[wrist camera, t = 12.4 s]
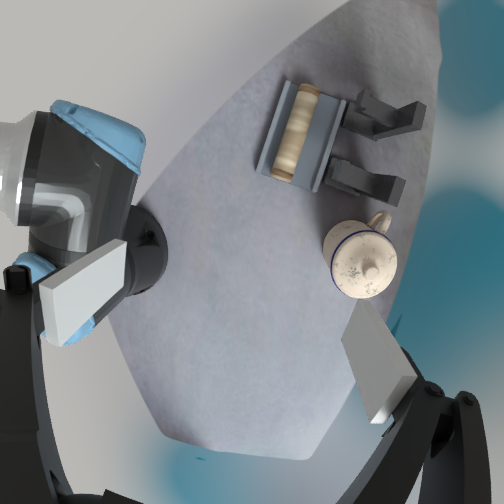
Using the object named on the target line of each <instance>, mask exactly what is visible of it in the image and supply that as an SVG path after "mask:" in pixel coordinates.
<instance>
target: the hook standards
mask: <svg viewBox="0 0 504 504" xmlns="http://www.w3.org/2000/svg"><path fill="white" fill-rule="evenodd" d="M371 92H372V91H371V90H369V89H366V88H365V89H364V90H363V91H361V92H360V93H359V94H358V96H357V99H356V103H355V104H354V103H352V102H349V103H348V106H347V110H346V113H345V116H344V119H343V123H342V126H341V127H343V128H346V129H348V130H351V131H353V132H356V133H358V134H360V135H363V136H365V137H367V138H369V139H372V140H374V141H377V140H378V139H381V138H385V137H390V136H394V135H398V134H403V133H407V132H412V131H417V130H421V128H422V124H423V120H424V116H425V111H426V107H427V106H426V105H424V104H422V103H421V102H419V101H416V102H414V103H411V104H409V105H407V106H404V107H402V108H400V109H396V108H394V107H392V106H390V105H388V104H386V103H384V102H381V101H379V100H377V99H375V98H373V97H371ZM405 182H406V180H404V179H402V178H400V177H398V176H391V175H382V174H373V173H370V172H368V171H366V170H363V169H361V168H359V167H356V166H354V165H351V164H350V162H349V161H346V160H344V159H343V160H338V159H336V158H333V157H331V160H330V163H329V166H328V169H327V172H326V175H325V177H324V180H323V183H324V184H327V185H330V186H332V187H335V188H338V189H340V190H343V191H345V192H348V193H350V194H353V195H355V196H358V197H359V195H360V194H362V195H365V196H368V197H371V198H373V199H376V200H379V201H382V202H384V203H387V204H390V205H393V206H395V207H397V206H398V203H399V200H400V197H401V194H402V191H403V188H404V185H405Z"/></svg>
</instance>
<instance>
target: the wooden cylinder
mask: <svg viewBox="0 0 504 504" xmlns="http://www.w3.org/2000/svg"><path fill="white" fill-rule="evenodd" d="M297 92H298V93H297V96H296V99H295V102H294V105H293V108H292V111H291V114H290V117H289V119H288V122H287V125H286V128H285V131H284V134H283V137H282V140H281V143H280V146H279V149H278V152H277V155H276V158H275V161H274V164H273V167H272V169H271V172H270V176H271V177H274V178H277V179H280V180H283V181H286V182H289V183H291V180H292V178H293V174H294V171H295V168H296V165H297V162H298V159H299V156H300V153H301V150H302V147H303V144H304V141H305V138H306V135H307V132H308V129H309V126H310V123H311V120H312V117H313V114H314V111H315V108H316V105H317V102H318V99H319V97H320V93H321V90H320V89H319V88H317V87H315V86H313V85H310V84H305V83H302V84H300V86H299V88H298V91H297Z"/></svg>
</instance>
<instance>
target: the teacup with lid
mask: <svg viewBox="0 0 504 504" xmlns="http://www.w3.org/2000/svg"><path fill="white" fill-rule="evenodd" d="M380 220H382V222H381V224H380V225H379V227H378V228H377V230H376V231H374V230H373V229H374V228H375V226H376V225H377V224H378V222H379V221H380ZM390 223H391V215H390V214H389V213H388V212H387V211H384V210H382V211H379V212H377V213H376V214H375V215H374V216H373V217H372V218H371V219H370V220H369V222H368V223H367V225H365V224H364V223H362V222H359V221H355V220H347V221H343V222H340V223H338V224H337V225H335V226H334V227H333V228H332V229H331V230H330V231H329V232H328V233H327V235H326V237H325V240H324V243H323V255H324V259H325V261H326V263H327V265H328V267H329V269H330V271H331V276H332V279H333V281H334V283H335V285H336V286H337V288H338V289H339V290H340V291H341V292H343V293H344V294H346V295H348V296H351V297H354V298H368V297H372V296H374V295H376V294H378V293H380V292H381V291H383V290H384V289H385V288H386V287H387V286H388V285H389V283H390V282H391V281H392V279H393V277H394V274H395V272H396V267H397V256H396V251H395V248H394V246H393V244H392V243H391V241H390V240H389V239H388V238H387V237H386V236H384V234H385V233H386V231H387V229H388V228H389V226H390Z"/></svg>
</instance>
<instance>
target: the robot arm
mask: <svg viewBox="0 0 504 504" xmlns="http://www.w3.org/2000/svg"><path fill="white" fill-rule="evenodd" d="M50 111H51V112H42V111H33V112H31V113H30V114H29V115H28V116H26V117H25V118H24V119H22V120H21V121H20V122H17V123H15V124H14V123H4V122H0V210H2V211H3V212H4V213H5V214H6V215H7V216H8V218H9V219H10V220H11V222H12V223H13V224H14V225H15V226H30V229H29V230H30V231H29V246H28V252H24V253H22V254H20V255H19V256H18V258H17V259H16V261H15V262H14V263H13V264H12V266H9V267H7V268H5V270H4V271H3V275H4V283H5V290H2V289H0V504H143V503H141V502H138V501H135V500H132V499H129V498H127V497H124V496H121V495H119V494H116V493H114V492H111V491H109V490H107V489H105V492H104V494H103V496H101V495H94V494H73V492H72V489H71V487H70V485H69V483H68V481H67V479H66V476H65V473H64V470H63V467H62V464H61V460H60V457H59V454H58V450H57V446H56V442H55V437H54V434H53V429H52V424H51V419H50V414H49V408H48V403H47V396H46V390H45V382H44V374H43V364H42V352H41V339H40V334H41V335H43V336H44V337H46V340H47V342H49V343H51V344H53V345H55V346H57V347H61V346H62V345H70V344H73V343H76V342H78V341H79V340H81V339H82V338H83V337H85V336H86V335H87V334H90V333H91V332H92V331H93V329H94V327H95V326H96V325H97V324H98V323H99V322H100V321H101V320H102V319H103V318H104V317H105V316H106V315H107V314H108V313H109V312H110V311H111V310H112V309H113V308H114V307H116V306H117V305H118V304H119V303H120V302H121V301H122V300H123V299H124V298H125V297H128V296H132V295H137V294H140V293H143V292H145V291H147V290H149V289H150V288H151V287H152V286H154V285H155V284H156V282H157V281H158V280H159V279H160V278H161V277H162V275H163V273H164V271H165V269H166V266H167V261H168V246H167V241H166V238H165V235H164V233H163V231H162V229H161V227H160V225H159V224H158V222H157V221H156V220H155V219H154V218H153V217H152V216H151V215H150V214H149V213H148V212H146V211H145V210H143V209H142V208H139V207H137V206H134V205H131V202H132V198H133V194H134V190H135V186H136V183H137V179H138V176H139V175H140V174H141V170H140V166H141V162H142V158H143V154H144V150H145V146H146V139H145V136H144V134H143V132H142V131H141V130H140V129H138V128H137V127H135V126H133V125H131V124H129V123H127V122H124V121H122V120H119V119H117V118H115V117H112V116H109V115H107V114H104V113H102V112H99V111H96V110H93V109H90V108H87V107H84V106H79V105H77V104H73V103H71V102H68V101H63V100H56V101H55V102H54V103H53V105H51V106H50ZM341 340H342V343H343V346H344V349H345V351H346V354H347V357H348V360H349V363H350V365H351V368H352V371H353V374H354V377H355V380H356V383H357V385H358V388H359V391H360V394H361V397H362V400H363V404H364V406H365V409H366V413H367V416H368V419H369V422H370V423H385V422H386V421H387V420H388V418H389V417H390V416H391V414H392V415H393V418H394V422H393V423H392V424H391V425H390V426H389V428H388V429H387V430H386V431H385V433H384V434H383V435H382V437H383V438H382V440H381V442H380V444H379V445H378V446H377V448H376V450H375V451H374V453H373V454H372V456H371V457H370V459H369V460H368V462H367V463H366V465H365V466H364V468H363V469H362V470H361V472H360V473H359V475H358V476H357V477H356V479H355V480H354V482H353V483H352V484H351V485H350V487H349V488H348V489H347V491H346V492H345V493H344V494H343V496H342V497H341V498H340V499H339V501H338V502H337V503H336V504H405V502H406V500H407V499H408V496H409V494H410V492H411V490H412V488H413V486H414V484H415V482H416V479H417V477H418V475H419V472H420V470H421V467H422V465H423V463H424V465H423V474H422V482H421V488H420V495H419V501H418V504H491V479H490V468H489V458H488V450H487V443H486V436H485V431H484V425H483V419H482V414H481V409H480V405H479V402H478V400H477V399H476V397H475V396H474V395H473V394H472V393H469V392H466V391H460V392H459V393H458V394H457V396H456V397H455V399H452V398H449V397H445V394H444V392H443V390H442V389H441V388H440V387H439V386H438V385H437V384H435V383H432V382H430V381H425V379H424V377H423V376H422V374H421V373H420V371H419V369H418V368H417V366H416V364H415V363H414V362H413V361H412V358H411V356H410V355H409V353H407V351H405V350H404V349H403V348H402V347H400V346H399V345H398V343H397V342H396V340H395V338H394V337H393V335H392V334H391V332H390V331H389V329H388V327H387V326H386V324H385V323H384V321H383V320H382V318H381V317H380V315H379V314H378V312H377V311H376V309H375V308H374V306H373V305H372V303H371V302H370V301H368V300H363V299H359V298H358V301H357V303H356V306H355V308H354V310H353V313H352V315H351V318H350V320H349V322H348V325H347V327H346V329H345V331H344V334H343V336H342V338H341Z"/></svg>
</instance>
